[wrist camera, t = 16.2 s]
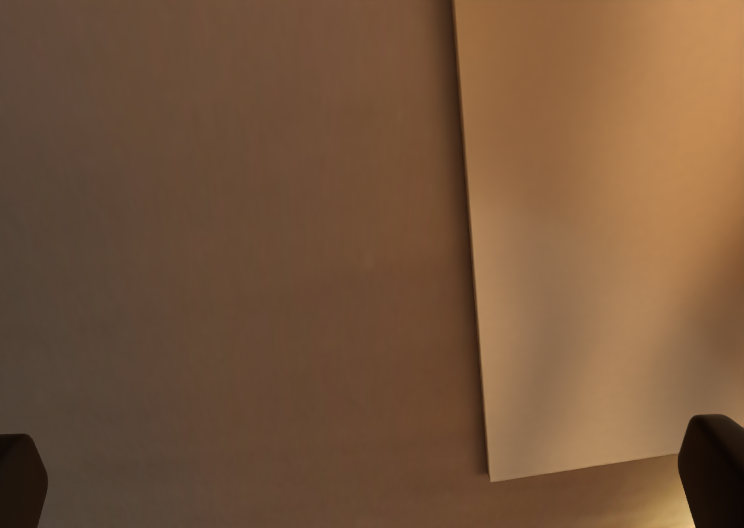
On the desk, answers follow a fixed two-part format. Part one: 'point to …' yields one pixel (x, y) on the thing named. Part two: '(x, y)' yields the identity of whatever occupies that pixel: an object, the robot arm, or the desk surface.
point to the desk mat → (603, 223)
